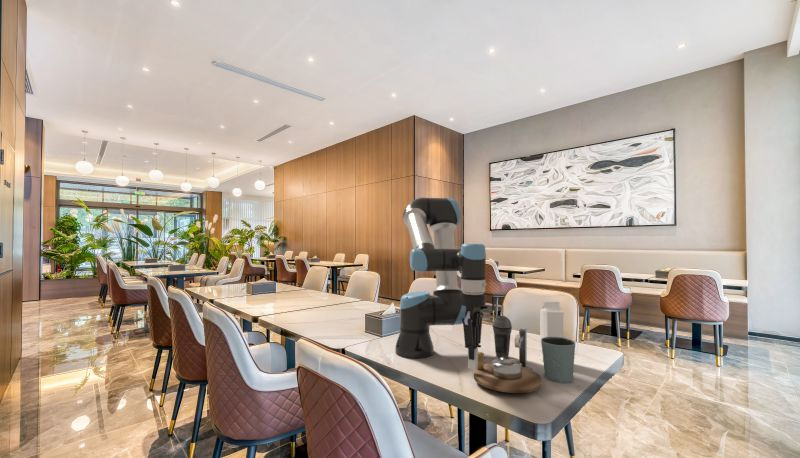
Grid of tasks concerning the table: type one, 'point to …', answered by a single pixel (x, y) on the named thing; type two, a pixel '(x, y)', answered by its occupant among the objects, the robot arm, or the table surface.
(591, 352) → the table surface
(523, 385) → the turntable
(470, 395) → the table surface
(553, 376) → the grey-green tumbler
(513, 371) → the cover
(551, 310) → the milk
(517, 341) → the dial gauge
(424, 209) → the robot arm
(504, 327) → the beverage cup
